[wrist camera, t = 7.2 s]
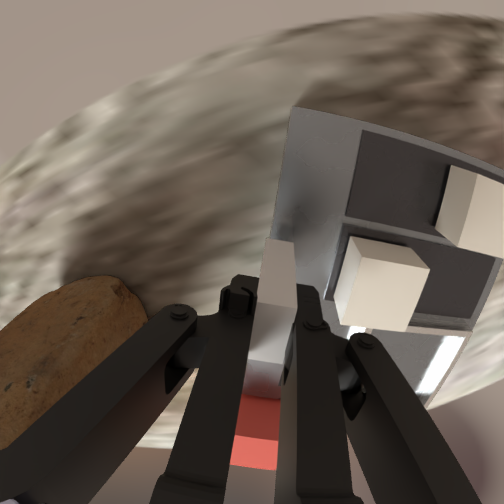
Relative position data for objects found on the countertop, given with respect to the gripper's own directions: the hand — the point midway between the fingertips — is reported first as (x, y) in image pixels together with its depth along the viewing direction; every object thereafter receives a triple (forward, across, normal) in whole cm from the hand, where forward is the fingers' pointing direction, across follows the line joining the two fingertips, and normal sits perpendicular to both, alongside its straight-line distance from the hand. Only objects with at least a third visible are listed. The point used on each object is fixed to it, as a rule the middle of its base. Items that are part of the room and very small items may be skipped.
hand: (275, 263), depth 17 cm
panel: (+5, +8, -2) cm, 9 cm away
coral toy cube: (+5, +1, -16) cm, 16 cm away
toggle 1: (+1, +6, 0) cm, 6 cm away
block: (+5, -14, -10) cm, 18 cm away
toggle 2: (+1, +11, +6) cm, 13 cm away
